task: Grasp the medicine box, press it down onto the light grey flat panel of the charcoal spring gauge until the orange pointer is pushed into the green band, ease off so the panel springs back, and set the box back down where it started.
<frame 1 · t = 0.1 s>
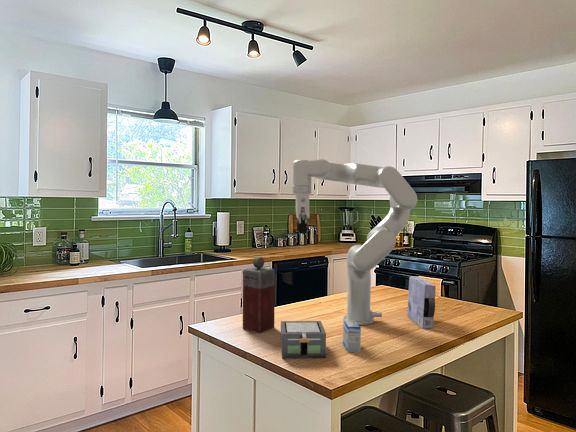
hand: (301, 232, 180), 37 cm above the counter, tool pointing down, fingers open, 9 cm apart
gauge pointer: (304, 340, 140), point 6 cm above the counter, slide at 0.0 cm
cake pan box: (420, 323, 181), on the counter
medicine box: (351, 348, 151), on the counter
light grey flat panel: (302, 330, 146), point 7 cm above the counter, slide at 0.0 cm
gauge housing: (302, 350, 148), on the counter
red square decanter: (256, 328, 173), on the counter
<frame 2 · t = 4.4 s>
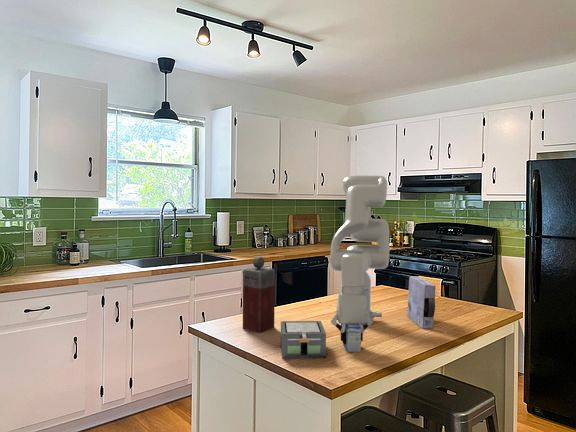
hand: (351, 342, 151), 2 cm above the counter, tool pointing down, fingers closed on medicine box, 4 cm apart
medicine box: (351, 348, 151), on the counter, touching gripper
everything else where it was.
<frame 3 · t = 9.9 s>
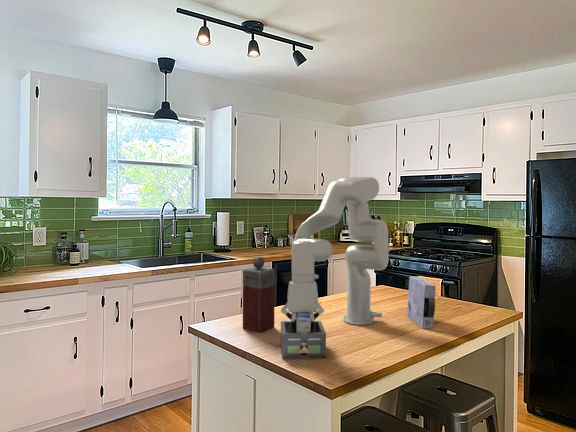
hand: (302, 331, 148), 6 cm above the counter, tool pointing down, fingers closed on medicine box, 4 cm apart
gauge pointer: (304, 350, 140), point 3 cm above the counter, slide at 3.4 cm, touching light grey flat panel
medicine box: (302, 338, 148), point 4 cm above the counter, touching light grey flat panel, gripper
light grey flat panel: (302, 340, 146), point 4 cm above the counter, slide at 3.5 cm, touching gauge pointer, medicine box
everything else where it was.
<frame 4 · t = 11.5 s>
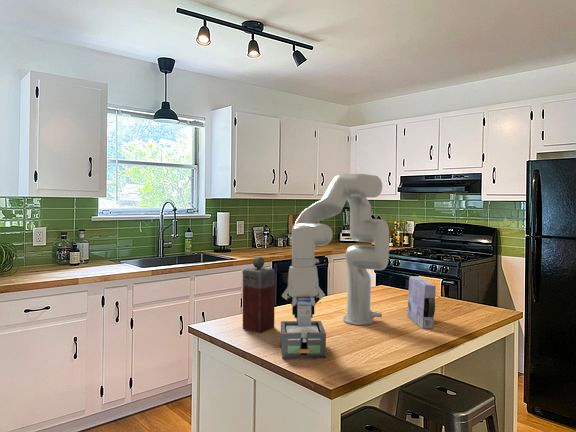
hand: (303, 316, 148), 12 cm above the counter, tool pointing down, fingers closed on medicine box, 4 cm apart
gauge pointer: (304, 351, 140), point 3 cm above the counter, slide at 3.5 cm
medicine box: (303, 322, 148), point 9 cm above the counter, touching gripper
light grey flat panel: (302, 333, 146), point 6 cm above the counter, slide at 1.0 cm
everything else where it was.
when the fingers open (3 cm above the counter, at t = 17.6 s): medicine box stays where it is, on the counter.
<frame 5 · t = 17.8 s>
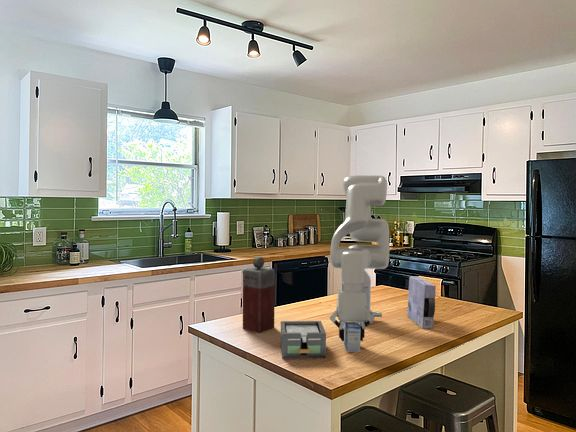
hand: (351, 339, 151), 3 cm above the counter, tool pointing down, fingers open, 5 cm apart
medicine box: (351, 348, 151), on the counter
everything else where it was.
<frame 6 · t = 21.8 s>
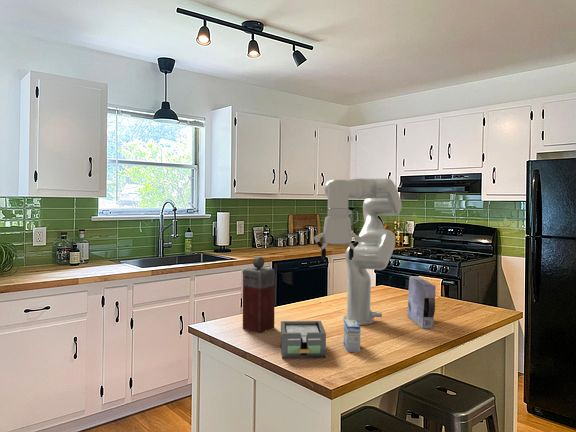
hand: (337, 259, 163), 28 cm above the counter, tool pointing down, fingers open, 9 cm apart
nothing on the counter moved.
at the end: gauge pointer slide at 3.5 cm; light grey flat panel slide at 1.0 cm; medicine box inside the target area (0.1 cm from its centre), on the counter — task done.
